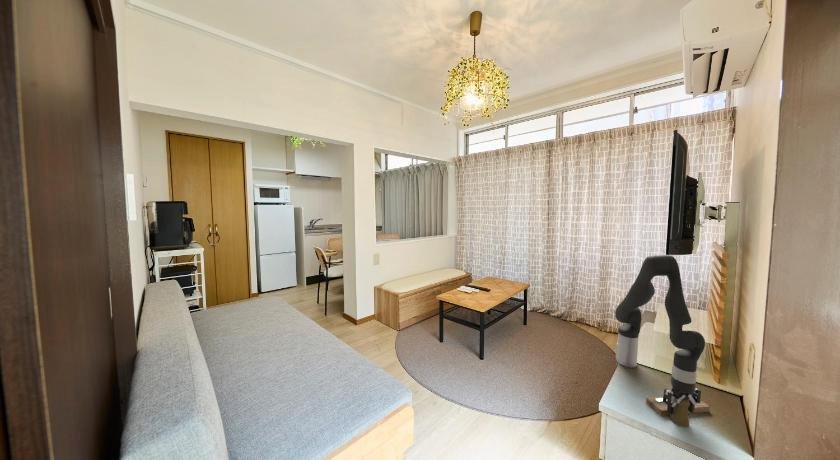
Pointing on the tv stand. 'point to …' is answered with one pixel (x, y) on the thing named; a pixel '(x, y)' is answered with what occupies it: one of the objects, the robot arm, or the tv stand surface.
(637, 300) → the robot arm
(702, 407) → the walnut board
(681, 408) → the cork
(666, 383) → the tv stand surface
